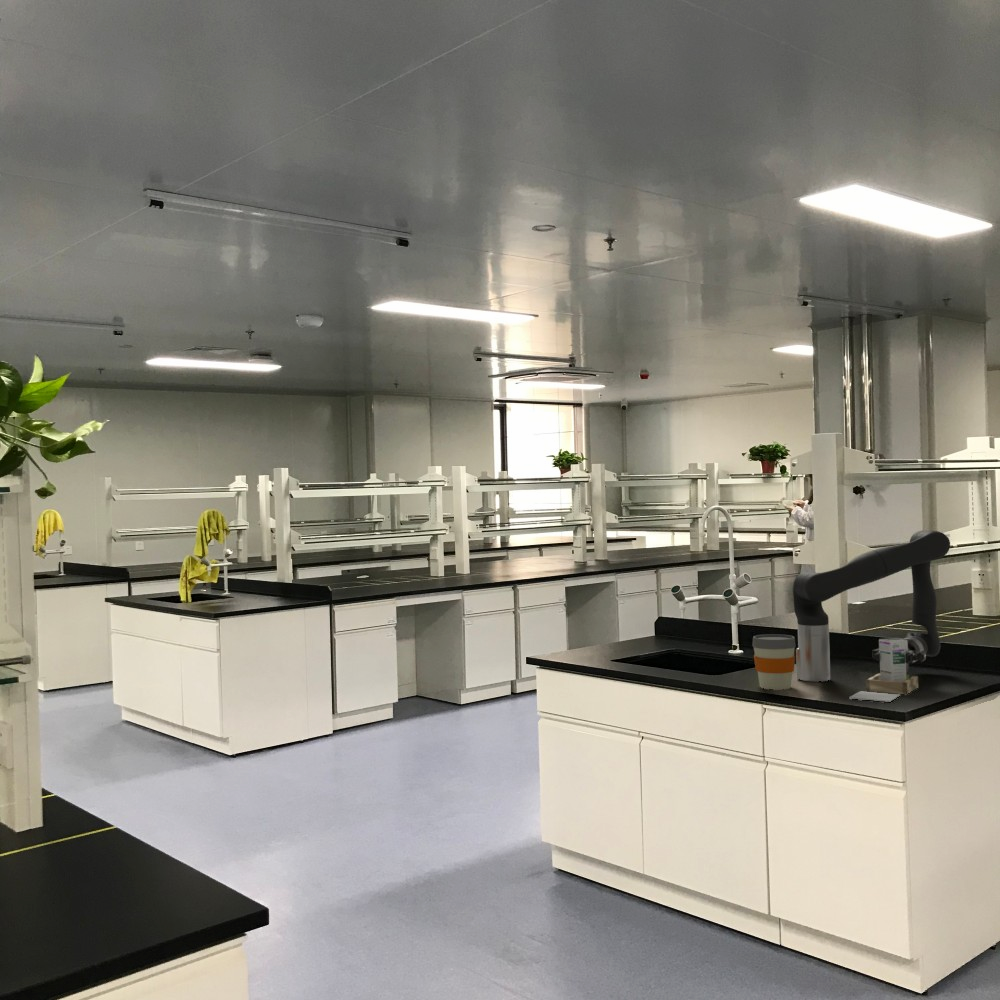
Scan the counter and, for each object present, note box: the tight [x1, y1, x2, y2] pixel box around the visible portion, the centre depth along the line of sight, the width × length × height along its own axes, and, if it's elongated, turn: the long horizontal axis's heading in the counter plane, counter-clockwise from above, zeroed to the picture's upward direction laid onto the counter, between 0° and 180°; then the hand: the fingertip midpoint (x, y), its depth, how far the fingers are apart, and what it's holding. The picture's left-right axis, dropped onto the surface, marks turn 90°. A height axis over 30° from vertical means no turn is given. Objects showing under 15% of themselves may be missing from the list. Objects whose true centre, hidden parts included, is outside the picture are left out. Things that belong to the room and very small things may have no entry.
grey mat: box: [848, 690, 901, 703], centre depth 278 cm, size 11×10×1 cm
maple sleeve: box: [865, 672, 919, 695], centre depth 288 cm, size 12×11×4 cm
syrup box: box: [878, 637, 910, 682], centre depth 290 cm, size 6×6×14 cm
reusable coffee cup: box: [752, 633, 797, 691], centre depth 298 cm, size 13×12×15 cm
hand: (892, 658), depth 289 cm, fingers closed on syrup box, 8 cm apart
